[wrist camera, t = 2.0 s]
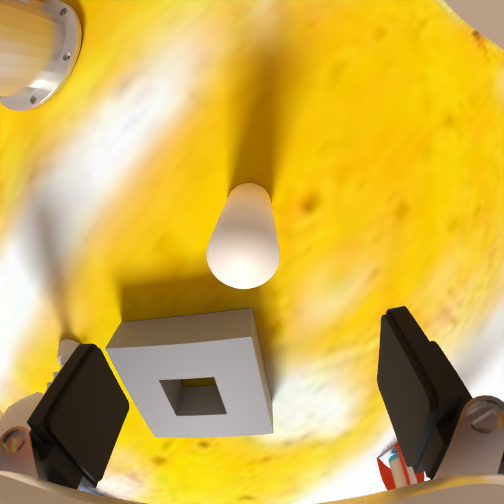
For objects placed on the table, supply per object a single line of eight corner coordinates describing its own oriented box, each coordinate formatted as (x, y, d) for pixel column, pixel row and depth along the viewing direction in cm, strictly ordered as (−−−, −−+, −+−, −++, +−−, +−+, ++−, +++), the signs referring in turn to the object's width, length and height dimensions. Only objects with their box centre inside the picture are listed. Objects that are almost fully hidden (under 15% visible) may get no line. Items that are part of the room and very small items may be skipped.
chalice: (86, 332, 35) (15, 442, 18) (106, 374, 37) (54, 482, 21) (45, 333, 35) (-26, 426, 19) (65, 372, 38) (9, 466, 21)
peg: (222, 186, 28) (199, 227, 17) (267, 179, 28) (274, 215, 17) (231, 229, 30) (215, 293, 19) (274, 222, 30) (284, 283, 18)
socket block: (121, 321, 34) (105, 348, 29) (252, 307, 33) (251, 336, 28) (163, 409, 40) (155, 437, 35) (272, 403, 38) (273, 433, 34)
